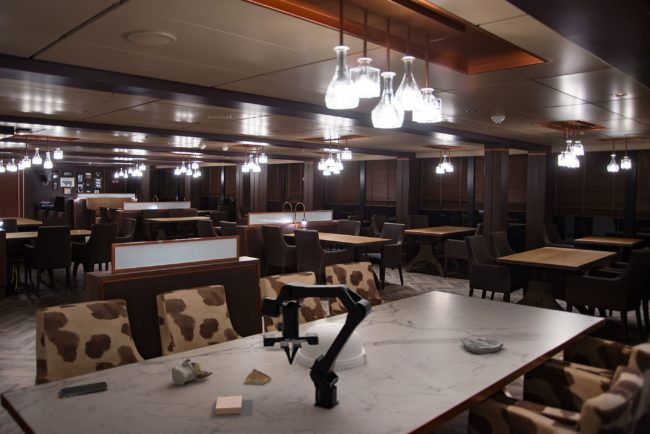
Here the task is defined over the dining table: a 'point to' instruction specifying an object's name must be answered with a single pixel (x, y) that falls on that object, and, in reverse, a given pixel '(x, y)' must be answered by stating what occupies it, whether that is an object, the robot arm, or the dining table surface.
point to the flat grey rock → (482, 344)
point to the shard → (257, 378)
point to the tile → (229, 405)
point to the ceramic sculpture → (188, 372)
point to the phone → (83, 389)
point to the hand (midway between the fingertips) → (290, 364)
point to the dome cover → (327, 333)
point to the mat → (245, 411)
